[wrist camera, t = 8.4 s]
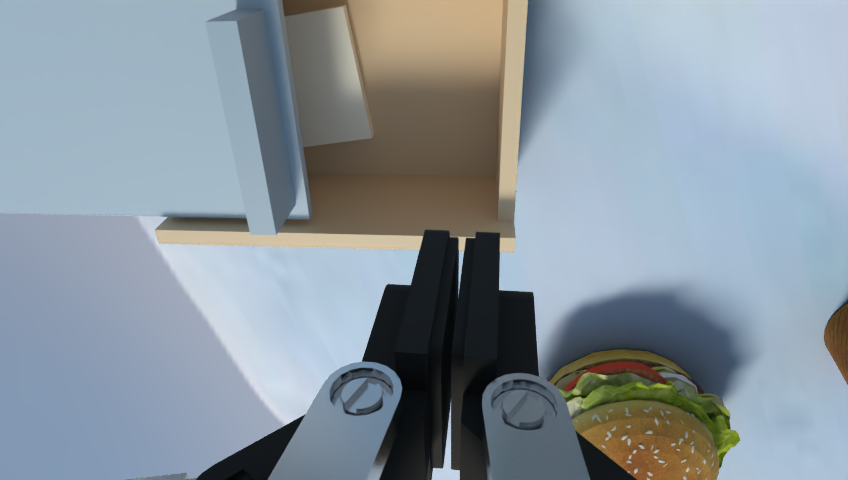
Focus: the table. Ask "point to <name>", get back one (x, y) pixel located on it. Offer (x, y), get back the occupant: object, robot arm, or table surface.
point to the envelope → (327, 77)
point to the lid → (150, 111)
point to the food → (647, 415)
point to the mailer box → (410, 133)
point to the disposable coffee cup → (838, 339)
